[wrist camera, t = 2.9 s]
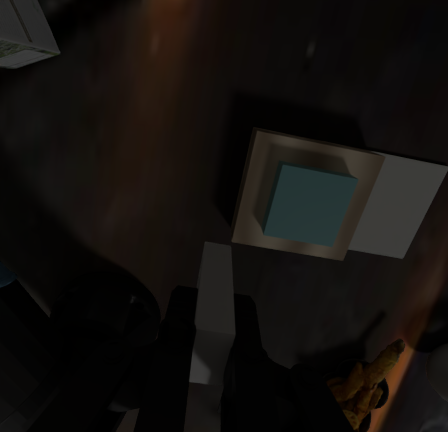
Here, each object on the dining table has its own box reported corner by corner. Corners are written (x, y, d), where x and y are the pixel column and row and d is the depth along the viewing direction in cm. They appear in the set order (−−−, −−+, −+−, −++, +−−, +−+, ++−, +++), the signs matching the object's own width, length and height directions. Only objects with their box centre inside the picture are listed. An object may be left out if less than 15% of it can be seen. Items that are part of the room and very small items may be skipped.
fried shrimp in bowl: (296, 422, 46) (360, 386, 35) (311, 362, 54) (367, 317, 43) (349, 459, 44) (435, 434, 33) (356, 391, 53) (427, 352, 41)
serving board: (230, 227, 38) (231, 241, 34) (253, 126, 33) (257, 130, 29) (331, 244, 39) (342, 260, 35) (367, 150, 34) (385, 156, 30)
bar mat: (332, 245, 39) (333, 246, 38) (369, 150, 34) (371, 151, 33) (401, 257, 39) (402, 258, 39) (446, 166, 35) (449, 167, 34)
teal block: (261, 227, 33) (263, 235, 31) (279, 160, 30) (282, 164, 28) (326, 238, 34) (332, 247, 32) (350, 174, 31) (358, 179, 29)
